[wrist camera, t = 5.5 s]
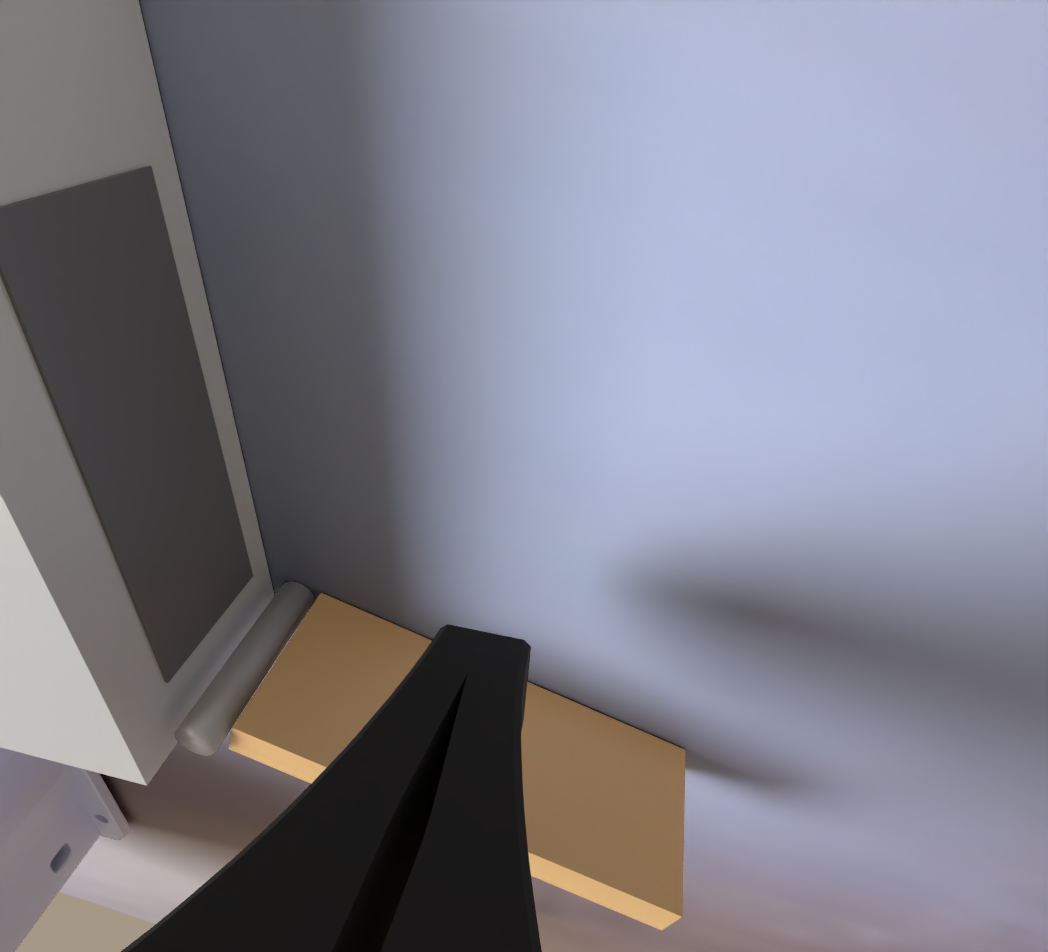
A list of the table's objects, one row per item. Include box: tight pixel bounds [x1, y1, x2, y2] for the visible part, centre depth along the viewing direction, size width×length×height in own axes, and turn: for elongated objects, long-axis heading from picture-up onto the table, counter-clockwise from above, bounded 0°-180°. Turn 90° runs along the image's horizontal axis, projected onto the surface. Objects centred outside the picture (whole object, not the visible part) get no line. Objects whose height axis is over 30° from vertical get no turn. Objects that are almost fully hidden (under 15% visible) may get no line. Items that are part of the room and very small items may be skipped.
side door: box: [174, 581, 686, 930], centre depth 14 cm, size 10×1×4 cm, turn 69°
